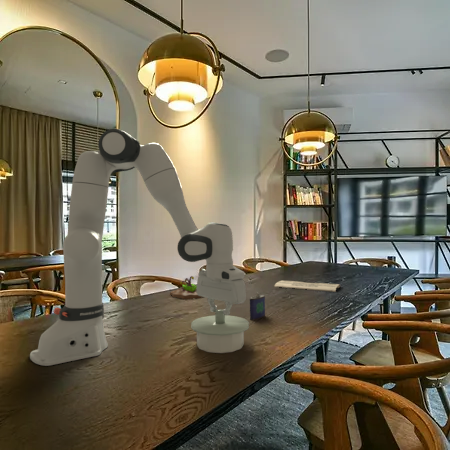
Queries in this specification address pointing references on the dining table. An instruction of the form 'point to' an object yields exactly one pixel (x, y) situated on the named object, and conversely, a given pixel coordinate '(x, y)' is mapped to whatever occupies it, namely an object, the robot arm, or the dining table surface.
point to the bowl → (220, 342)
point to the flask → (257, 307)
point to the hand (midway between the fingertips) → (219, 313)
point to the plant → (186, 290)
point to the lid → (220, 324)
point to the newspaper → (308, 285)
